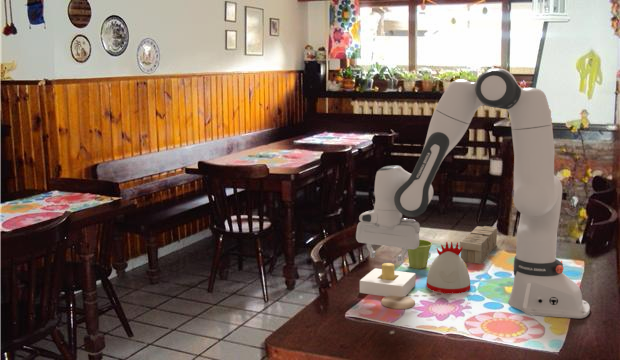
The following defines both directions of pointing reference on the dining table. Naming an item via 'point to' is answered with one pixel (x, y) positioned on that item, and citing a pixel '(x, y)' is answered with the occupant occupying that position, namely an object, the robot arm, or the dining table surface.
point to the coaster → (398, 302)
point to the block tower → (478, 244)
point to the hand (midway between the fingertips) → (386, 258)
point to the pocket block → (387, 283)
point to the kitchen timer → (448, 272)
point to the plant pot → (419, 255)
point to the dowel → (388, 271)
